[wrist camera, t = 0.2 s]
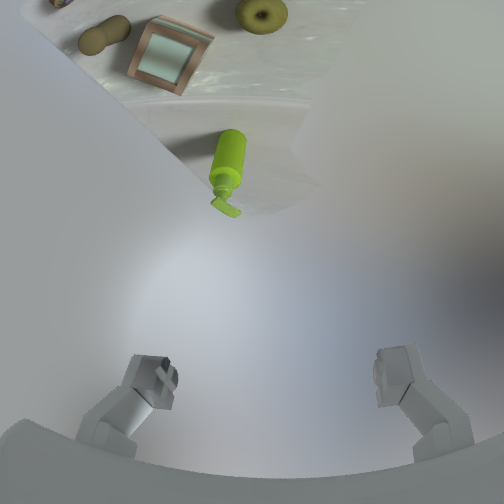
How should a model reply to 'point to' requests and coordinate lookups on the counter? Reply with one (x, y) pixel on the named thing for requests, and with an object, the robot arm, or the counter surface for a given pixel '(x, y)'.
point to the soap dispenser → (227, 169)
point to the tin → (60, 3)
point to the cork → (104, 35)
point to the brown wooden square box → (169, 54)
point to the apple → (261, 15)
